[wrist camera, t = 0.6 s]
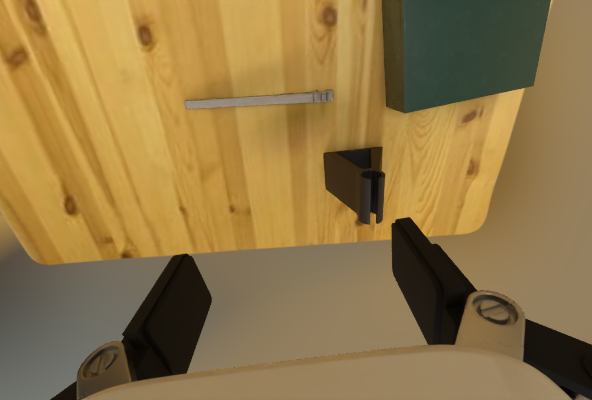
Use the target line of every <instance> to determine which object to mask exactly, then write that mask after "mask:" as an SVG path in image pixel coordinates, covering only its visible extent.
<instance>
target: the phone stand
mask: <svg viewBox="0 0 592 400" xmlns="http://www.w3.org/2000/svg"><path fill="white" fill-rule="evenodd" d="M382 148H383V147H374V148H365V149H356V150H346V151H337V152H328V153H324V168H325V185H326V189H327V190H328V191H329V192H330V193H332V194H333V195H334V196H335V197H337V198H338V199H339V200H340V201H342V202H343V203H344V204H346V205H347V206H348V207H349V208H351V209H352V210H353V211H354V212H356V214H357V215H358V219H359V221H360V222H362V223H364V224H369V225H370V213H371V212H372V213H373V214H374V213H375V214H376V223H377V224H378V223H380V222H382V220H383V204H384V186H385V173H383V172H382V171H381V169H382Z"/></svg>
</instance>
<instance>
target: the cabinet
mask: <svg viewBox="0 0 592 400" xmlns="http://www.w3.org/2000/svg"><path fill="white" fill-rule="evenodd" d="M550 2H551V0H382V15H383V38H384V62H385V86H386V107H389V108H391V109H394V110H397V111H400V112H403V113H408V112H413V111H418V110H423V109H427V108H432V107H437V106H441V105H446V104H451V103H456V102H460V101H465V100H470V99H474V98H479V97H484V96H488V95H493V94H498V93H503V92H507V91H512V90H517V89H521V88H526V87H531V86H533V85H534V81H535V76H536V71H537V66H538V61H539V56H540V51H541V46H542V41H543V36H544V31H545V26H546V21H547V17H548V12H549V7H550Z"/></svg>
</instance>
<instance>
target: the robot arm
mask: <svg viewBox="0 0 592 400" xmlns="http://www.w3.org/2000/svg"><path fill="white" fill-rule="evenodd" d="M392 270H393V274H394V277H395V279H396V281H397V283H398V285H399V287H400V289H401V291H402V293H403V295H404V297H405V299H406V301H407V303H408V305H409V307H410V309H411V311H412V313H413V315H414V317H415V319H416V321H417V323H418V325H419V327H420V329H421V331H422V333H423V335H424V337H425V339H426V341H427V343H428V345H423V346H411V347H400V348H391V349H381V350H371V351H363V352H355V353H346V354H338V355H329V356H321V357H313V358H305V359H297V360H288V361H280V362H272V363H264V364H257V365H248V366H241V367H233V368H225V369H217V370H210V371H202V372H195V373H187V371H188V368H189V365H190V362H191V359H192V356H193V354H194V351H195V348H196V345H197V342H198V339H199V337H200V334H201V331H202V328H203V325H204V322H205V320H206V317H207V314H208V311H209V308H210V305H211V302H212V301H211V300H212V298H211V295H210V292H209V290H208V288H207V286H206V284H205V282H204V280H203V278H202V276H201V274H200V272H199V270H198V267H197V265H196V264H195V261H194V259H193V258H192V256H189V255H188V254H180V255H175V256H173V257H172V258H171V260H170V261H169V263H168V265H167V266H166V268H165V269H164V271H163V272H162V274H161V275H160V277H159V278H158V280H157V282H156V283H155V285H154V286H153V288H152V289H151V291H150V292H149V294H148V295H147V297H146V299H145V300H144V301H143V303H142V305H141V306H140V308H139V309H138V311H137V312H136V314H135V315H134V317H133V318H132V320H131V322H130V323H129V324H128V326H127V328H126V329H125V331H124V332H123V334H122V335H123V336H124V338H123V340H122V341H121V342H119V341H112V342H109V343H106V344H104V345H103V346H101V347H99V348H98V349H96V350H95V351H94V352H92V354H90V355H89V356H88V357H87V358H86V359H85V361H84V362H83V363H82V364H81V366H80V368H79V370H78V373H77V381H76V382H74V383H73V384H71V385H70V386H69V387H67V388H66V389H64V390H63V391H62V392H60V393H59V394H58V395H56V396H55V397H53V398H52V399H51V400H592V345H591V344H588V343H586V342H583V341H581V340H578V339H576V338H573V337H571V336H568V335H565V334H563V333H561V332H558V331H556V330H553V329H551V328H548V327H545V326H543V325H540V324H538V323H535V322H533V321H530V320H528V319H525V315H524V312H523V311H522V309H521V307H520V306H519V305H518V304H517V303H515V302H514V301H513V300H511V299H510V298H508V297H507V296H505V295H502V294H499V293H497V292H492V291H484V290H480V291H477V290H476V289H475V288H474V286H473V285H472V284H471V283H470V282H469V280H468V279H467V278H466V277H465V276H464V274H463V273H462V272H461V271H460V270H459V268H458V267H457V266H456V265H455V264H454V263H453V261H452V260H451V259H450V258H449V257H448V255H447V254H446V253H445V252H444V251H443V250H442V248H441V247H440V246H439V245H438V244H431V243H430V241H429V240H428V239H427V238H426V236H425V235H424V234H423V233H422V232H421V230H420V229H419V228H418V227H417V225H416V224H415V223H414V222H413V220H412V219H411V218H410V217H408V218H401V219H396V221H395V223H392ZM186 373H187V374H186Z"/></svg>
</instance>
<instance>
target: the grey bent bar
mask: <svg viewBox="0 0 592 400" xmlns="http://www.w3.org/2000/svg"><path fill="white" fill-rule="evenodd" d="M333 99H334V91H333V90H326V91H324V92H318V90H315V91H310V92H306V93H289V94H280V95H265V96H250V97H235V98H220V99H205V100H194V101H184V103H185V107H186V109H191V108H192V109H198V108H215V107H232V106H248V105H265V104H288V103H306V102H314V103H317V102H321V101H322V102H326V101H332V100H333Z"/></svg>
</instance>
